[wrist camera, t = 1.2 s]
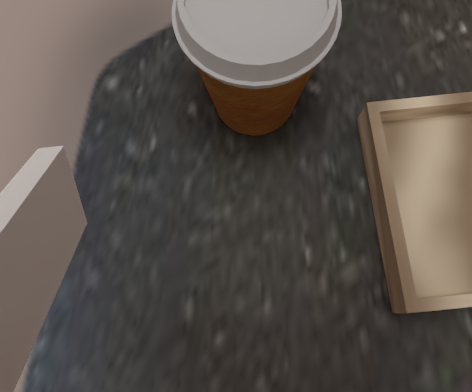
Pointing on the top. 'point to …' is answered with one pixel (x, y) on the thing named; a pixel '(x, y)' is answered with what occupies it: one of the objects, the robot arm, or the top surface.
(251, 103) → the disposable coffee cup
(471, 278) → the birch tray
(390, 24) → the top surface
